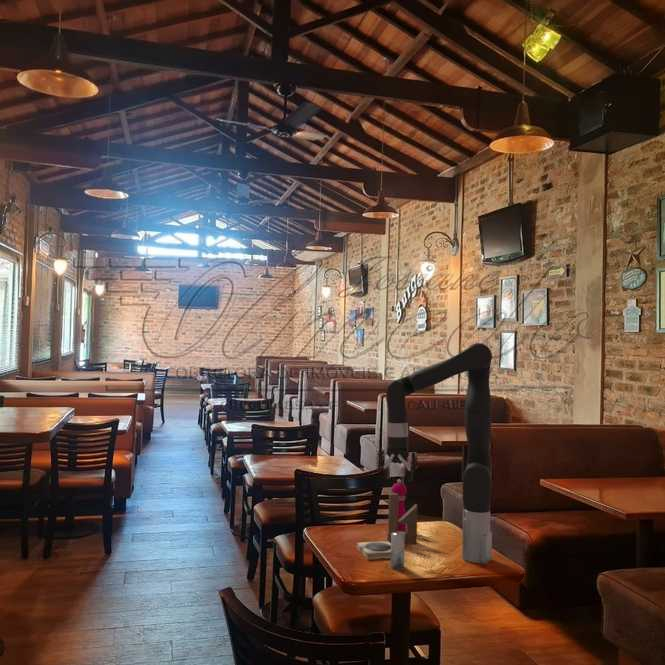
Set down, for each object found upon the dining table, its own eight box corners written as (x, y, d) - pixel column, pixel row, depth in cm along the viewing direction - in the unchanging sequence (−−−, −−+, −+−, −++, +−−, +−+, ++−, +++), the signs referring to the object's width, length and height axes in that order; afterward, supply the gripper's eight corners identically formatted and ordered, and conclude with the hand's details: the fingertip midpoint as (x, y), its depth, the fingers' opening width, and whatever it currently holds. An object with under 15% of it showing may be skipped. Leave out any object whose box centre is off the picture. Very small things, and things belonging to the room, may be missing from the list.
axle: (406, 566, 197) (406, 533, 197) (399, 570, 193) (400, 536, 194) (394, 563, 200) (395, 530, 200) (388, 567, 196) (388, 533, 196)
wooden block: (416, 544, 221) (417, 495, 221) (387, 543, 221) (389, 494, 221) (415, 541, 224) (416, 493, 225) (387, 540, 224) (388, 492, 225)
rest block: (400, 557, 206) (400, 551, 206) (367, 559, 203) (367, 553, 203) (387, 546, 217) (388, 540, 217) (356, 548, 214) (356, 542, 214)
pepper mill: (410, 528, 240) (411, 479, 241) (402, 532, 234) (403, 482, 235) (394, 525, 244) (395, 476, 245) (386, 529, 238) (387, 479, 239)
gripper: (419, 434, 215) (420, 479, 214) (383, 432, 222) (384, 476, 221) (412, 437, 208) (413, 483, 208) (375, 435, 215) (376, 480, 214)
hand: (398, 479), depth 214 cm, fingers open, 8 cm apart
